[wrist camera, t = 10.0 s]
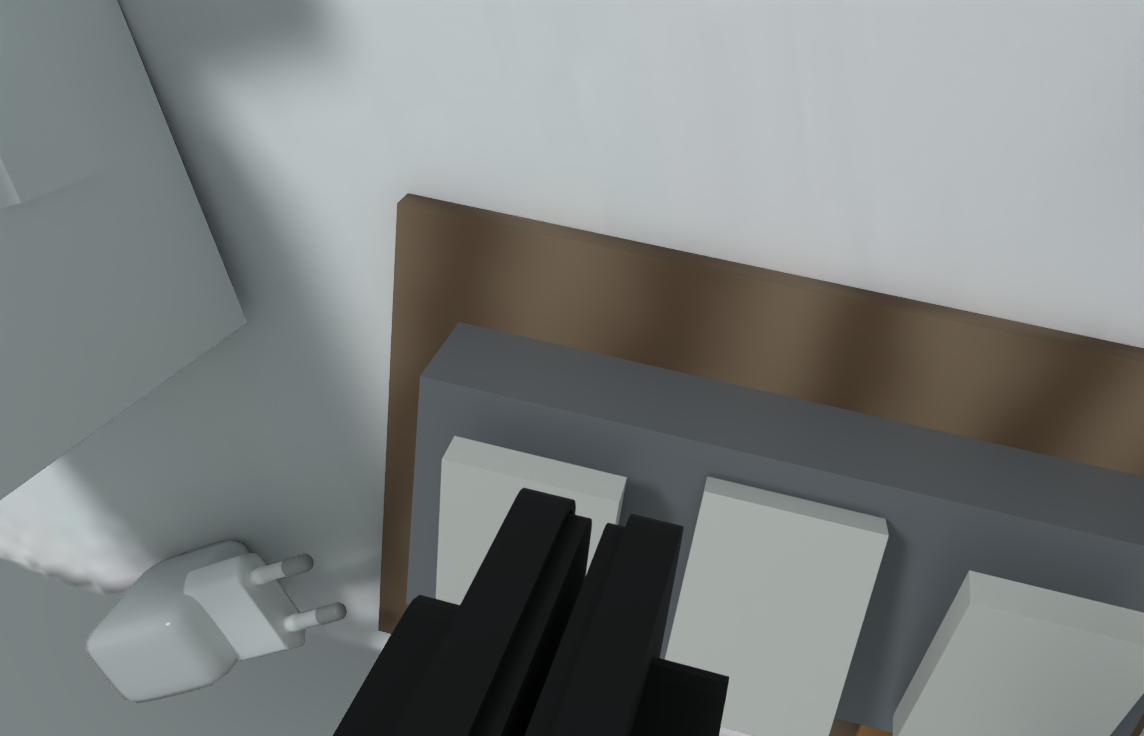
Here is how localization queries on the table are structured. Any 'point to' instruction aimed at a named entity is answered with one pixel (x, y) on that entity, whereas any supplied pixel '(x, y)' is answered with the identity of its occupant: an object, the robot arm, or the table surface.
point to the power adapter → (200, 621)
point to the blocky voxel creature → (91, 235)
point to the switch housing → (790, 486)
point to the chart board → (739, 347)
